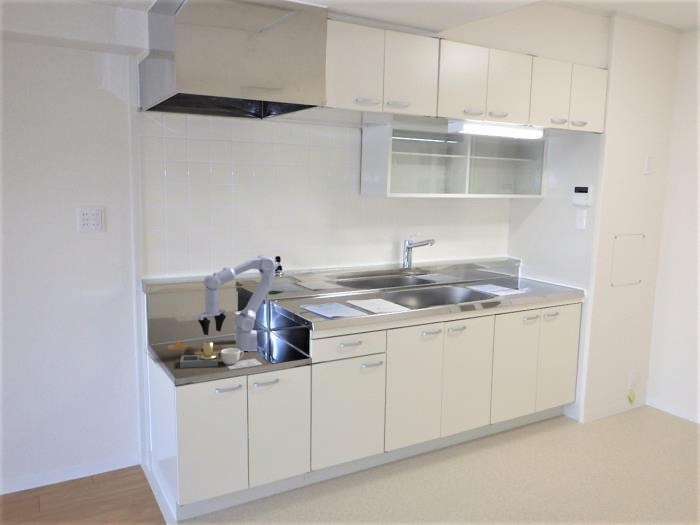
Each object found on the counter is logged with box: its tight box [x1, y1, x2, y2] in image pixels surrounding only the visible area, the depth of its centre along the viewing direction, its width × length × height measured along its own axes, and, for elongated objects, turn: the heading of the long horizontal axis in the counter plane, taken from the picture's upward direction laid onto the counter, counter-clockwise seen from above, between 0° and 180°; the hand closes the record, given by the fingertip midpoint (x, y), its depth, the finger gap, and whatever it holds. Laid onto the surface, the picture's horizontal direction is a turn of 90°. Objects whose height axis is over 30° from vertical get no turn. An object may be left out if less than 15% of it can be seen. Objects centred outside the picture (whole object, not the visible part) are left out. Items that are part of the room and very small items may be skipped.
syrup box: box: [233, 310, 242, 342], centre depth 274 cm, size 6×6×14 cm
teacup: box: [220, 347, 245, 365], centre depth 243 cm, size 10×8×5 cm
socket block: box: [184, 345, 222, 360], centre depth 252 cm, size 15×11×4 cm
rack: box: [179, 354, 219, 369], centre depth 241 cm, size 15×8×2 cm, turn 102°
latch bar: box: [167, 340, 189, 350], centre depth 249 cm, size 8×2×3 cm, turn 102°
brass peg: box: [200, 340, 217, 360], centre depth 241 cm, size 7×7×9 cm
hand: (212, 332), depth 255 cm, fingers open, 7 cm apart
